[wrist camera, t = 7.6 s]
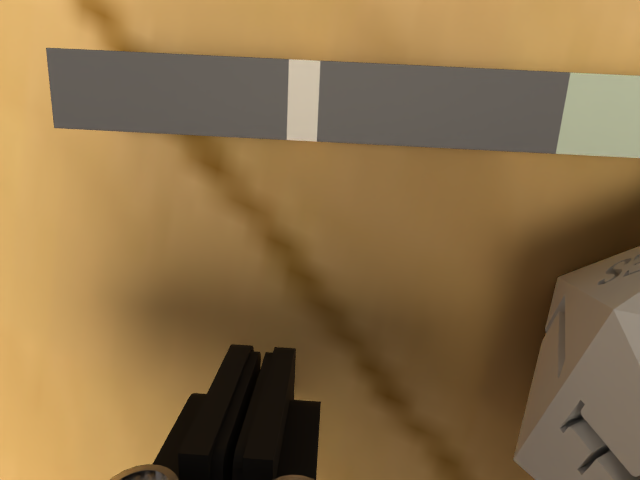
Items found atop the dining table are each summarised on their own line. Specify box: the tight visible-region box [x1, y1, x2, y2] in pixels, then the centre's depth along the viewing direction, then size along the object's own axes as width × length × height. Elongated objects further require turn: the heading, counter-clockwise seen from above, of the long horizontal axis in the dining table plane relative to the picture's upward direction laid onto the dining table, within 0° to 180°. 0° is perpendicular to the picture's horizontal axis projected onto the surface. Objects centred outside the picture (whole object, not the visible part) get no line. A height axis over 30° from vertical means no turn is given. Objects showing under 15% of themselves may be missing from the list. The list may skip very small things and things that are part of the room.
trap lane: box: [46, 48, 640, 158], centre depth 11 cm, size 21×16×5 cm
